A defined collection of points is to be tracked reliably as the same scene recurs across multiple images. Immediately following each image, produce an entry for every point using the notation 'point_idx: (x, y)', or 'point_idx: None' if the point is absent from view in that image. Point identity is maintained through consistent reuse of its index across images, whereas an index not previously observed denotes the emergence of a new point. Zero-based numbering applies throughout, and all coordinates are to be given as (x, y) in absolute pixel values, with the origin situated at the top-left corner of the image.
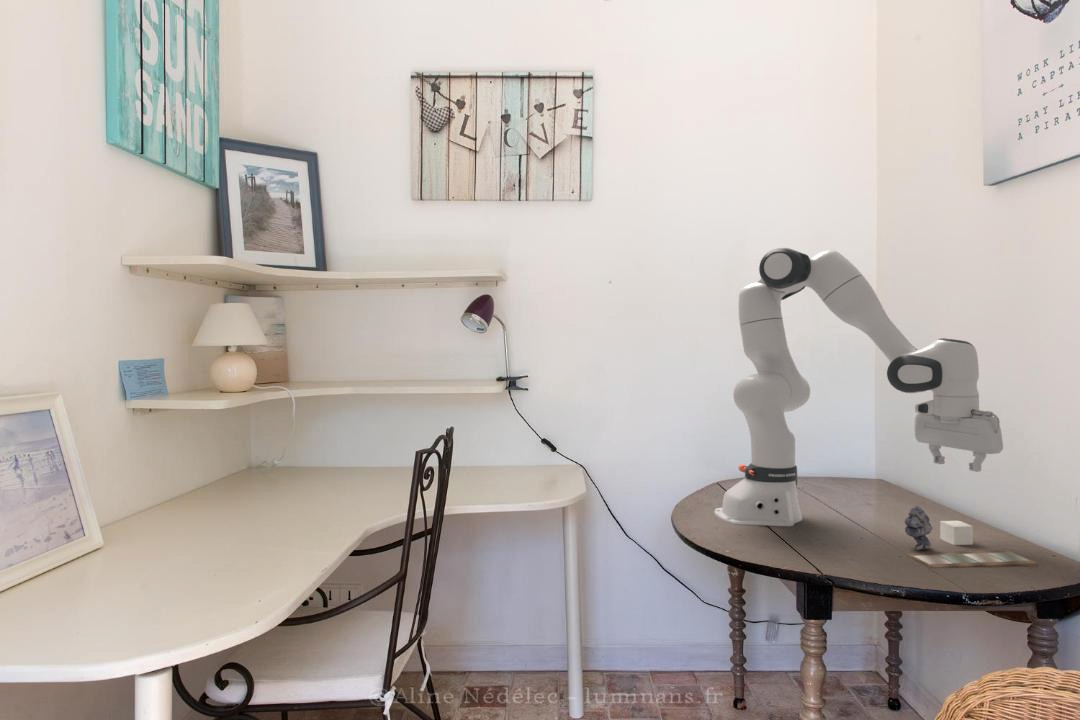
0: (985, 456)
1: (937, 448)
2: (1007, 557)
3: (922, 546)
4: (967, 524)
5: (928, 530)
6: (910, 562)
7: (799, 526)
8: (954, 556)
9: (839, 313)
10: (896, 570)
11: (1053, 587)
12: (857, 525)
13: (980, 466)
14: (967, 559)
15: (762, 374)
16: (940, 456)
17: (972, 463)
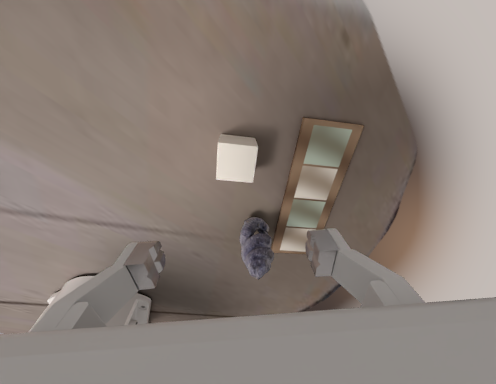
0: (402, 282)
1: (99, 318)
2: (329, 150)
3: (267, 234)
4: (246, 147)
5: (271, 242)
6: (287, 255)
7: None
8: (298, 213)
9: None
10: (300, 277)
11: (408, 177)
12: (136, 230)
13: (343, 242)
14: (312, 206)
15: None
16: (137, 274)
17: (331, 275)
